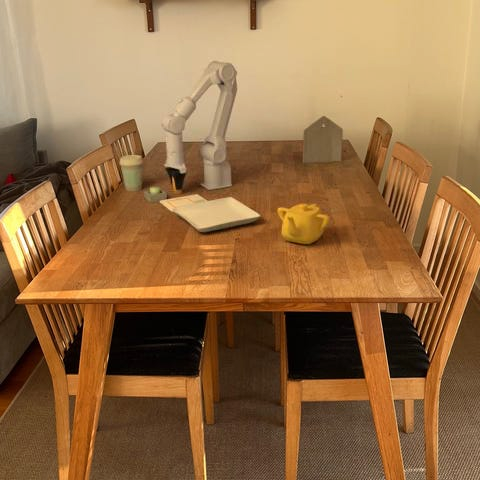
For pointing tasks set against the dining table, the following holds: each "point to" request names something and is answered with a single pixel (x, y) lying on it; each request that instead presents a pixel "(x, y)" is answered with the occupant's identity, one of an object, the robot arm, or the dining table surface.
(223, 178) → the robot arm
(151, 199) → the button housing
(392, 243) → the dining table surface
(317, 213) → the teapot
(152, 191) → the button
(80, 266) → the dining table surface
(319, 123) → the grey pentagonal block
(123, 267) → the dining table surface
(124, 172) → the coffee cup
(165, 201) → the sheet
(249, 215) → the salad plate
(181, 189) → the marker
